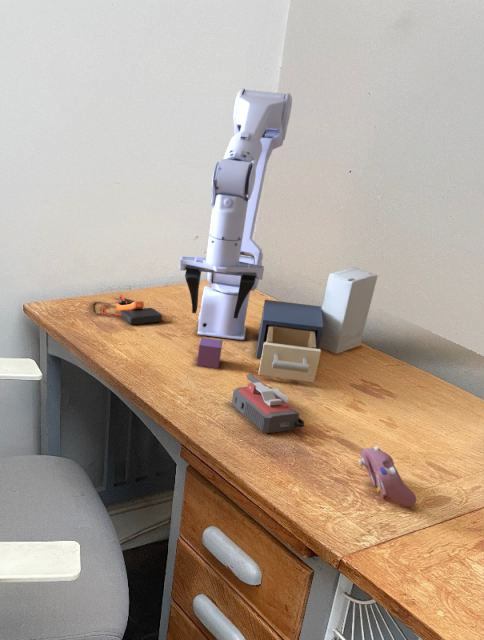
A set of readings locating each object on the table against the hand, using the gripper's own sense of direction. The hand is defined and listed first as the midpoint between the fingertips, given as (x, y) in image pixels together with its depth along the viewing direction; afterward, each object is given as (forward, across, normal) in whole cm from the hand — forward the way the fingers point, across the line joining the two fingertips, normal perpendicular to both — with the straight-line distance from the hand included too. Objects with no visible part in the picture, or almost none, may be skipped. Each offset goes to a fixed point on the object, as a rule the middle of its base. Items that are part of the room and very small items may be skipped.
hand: (215, 314), depth 140 cm
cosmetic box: (+10, +24, +18) cm, 32 cm away
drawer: (+8, +14, -1) cm, 17 cm away
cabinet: (+9, +14, +12) cm, 21 cm away
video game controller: (+10, +28, -39) cm, 49 cm away
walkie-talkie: (+10, +10, -17) cm, 22 cm away
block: (+9, 0, 0) cm, 9 cm away
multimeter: (+10, -21, +23) cm, 33 cm away
